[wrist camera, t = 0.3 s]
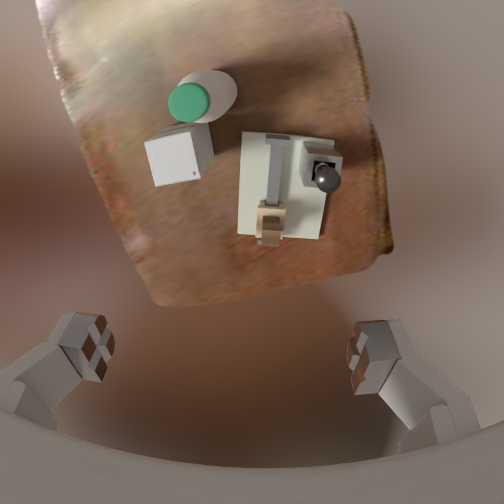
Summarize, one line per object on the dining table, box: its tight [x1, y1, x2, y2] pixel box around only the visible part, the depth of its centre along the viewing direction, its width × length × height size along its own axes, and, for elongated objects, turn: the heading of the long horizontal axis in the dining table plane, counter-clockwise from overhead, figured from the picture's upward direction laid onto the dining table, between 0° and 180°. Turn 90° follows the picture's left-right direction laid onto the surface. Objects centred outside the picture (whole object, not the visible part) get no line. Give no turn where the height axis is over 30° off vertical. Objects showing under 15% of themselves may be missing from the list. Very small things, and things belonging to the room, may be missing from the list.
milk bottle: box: [168, 70, 237, 123], centre depth 37 cm, size 8×8×20 cm
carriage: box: [256, 201, 286, 247], centre depth 54 cm, size 6×5×8 cm
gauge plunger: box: [313, 160, 341, 193], centre depth 44 cm, size 4×4×8 cm
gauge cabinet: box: [299, 142, 343, 190], centre depth 48 cm, size 5×6×9 cm
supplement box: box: [144, 122, 214, 186], centre depth 46 cm, size 7×7×13 cm
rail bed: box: [238, 131, 335, 245], centre depth 53 cm, size 20×16×5 cm
